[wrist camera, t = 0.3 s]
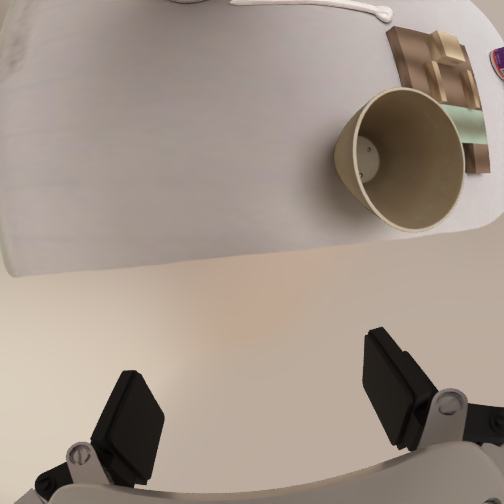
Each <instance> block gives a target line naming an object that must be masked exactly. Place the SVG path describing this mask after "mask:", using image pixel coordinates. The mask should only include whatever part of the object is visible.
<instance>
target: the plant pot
mask: <svg viewBox="0 0 504 504" xmlns="http://www.w3.org/2000/svg"><path fill="white" fill-rule="evenodd" d="M368 148H370V150H369V151H368V150H367V149H368ZM334 162H335V167H336V170H337V172H338V174H339V176H340V178H341V180H342V181H343V183H344V184H345V186H346V187H347V188H348V190H349V191H350V192H351V193H352V194H353V195H354V196H355V197H356V198H357V199H358V201H360V202H361V203H362V204H363V205H364V206H365V207H366V208H367V209H369V210H370V211H371V212H372V213H374V214H375V215H376V216H378V217H379V218H380V219H382V220H383V221H384V222H385V223H387V224H388V225H390V226H391V227H394V228H396V229H398V230H401V231H405V232H423V231H427V230H429V229H432V228H434V227H436V226H437V225H439V224H440V223H442V222H443V221H444V220H445V219H446V218H447V217H448V216H449V215H450V213H451V212H452V211H453V209H454V208H455V206H456V204H457V202H458V200H459V198H460V195H461V192H462V188H463V184H464V178H465V156H464V150H463V145H462V142H461V138H460V136H459V133H458V130H457V128H456V126H455V124H454V122H453V121H452V119H451V117H450V116H449V114H448V113H447V112H446V111H445V109H444V108H443V107H442V106H441V105H440V104H439V103H438V102H437V101H436V100H434V99H433V98H432V97H430V96H429V95H427V94H425V93H423V92H421V91H419V90H416V89H412V88H406V87H396V88H391V89H388V90H385V91H383V92H381V93H379V94H378V95H376V96H375V97H373V98H372V99H371V100H370V101H369V102H368V103H366V104H365V105H364V106H363V107H362V108H361V109H360V110H359V111H358V112H357V113H356V114H355V115H354V116H353V117H352V118H351V119H350V121H349V122H348V123H347V125H346V126H345V128H344V129H343V131H342V133H341V134H340V136H339V138H338V141H337V143H336V147H335V151H334ZM360 174H362V177H360Z"/></svg>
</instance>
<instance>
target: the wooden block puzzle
mask: <svg viewBox="0 0 504 504" xmlns="http://www.w3.org/2000/svg"><path fill="white" fill-rule="evenodd" d="M386 34H387V37H388V40H389V43H390V46H391V49H392V52H393V55H394V58H395V62H396V65H397V69H398V72H399V76H400V80H401V84H402V87H406V88H412V89H416V90H419V91H421V92H423V93H425V94H427V95H429V96H430V97H432V98H433V99H434V100H436V101H437V102H438V103H439V104H440V105H441V106H442V107H443V108H444V109H445V111H446V112H447V113H448V114H449V116H450V117H451V119H452V121H453V122H454V124H455V126H456V128H457V130H458V133H459V136H460V138H461V142H462V145H463V150H464V156H465V172H468V173H490V161H489V151H488V142H487V135H486V128H485V122H484V117H483V111H482V106H481V102H480V97H479V93H478V89H477V85H476V81H475V78H474V74H473V71H472V67H471V64H470V61H469V58H468V55H467V52H466V49H465V46H464V45H461V44H460V47H461V50H462V53H463V56H464V59H465V62H463V63H460V64H457V65H454V66H449V65H445V64H441V63H437V62H435V61H433V60H432V57H431V54H430V51H429V48H428V45H427V42H426V39H425V37H426V36H428V35H430V34H426V33H422V32H418V31H414V30H410V29H405V28H401V27H396V26H393V27H392V28H391V29H390V30H388V31H387V32H386Z"/></svg>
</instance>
